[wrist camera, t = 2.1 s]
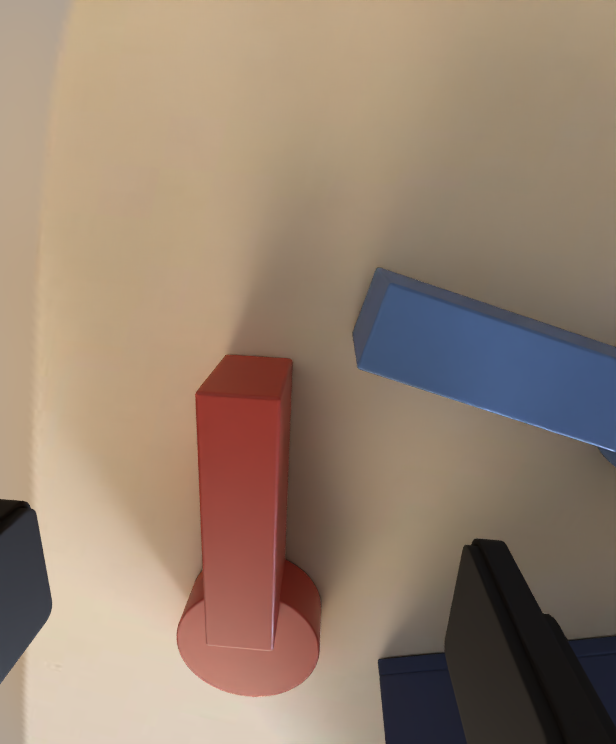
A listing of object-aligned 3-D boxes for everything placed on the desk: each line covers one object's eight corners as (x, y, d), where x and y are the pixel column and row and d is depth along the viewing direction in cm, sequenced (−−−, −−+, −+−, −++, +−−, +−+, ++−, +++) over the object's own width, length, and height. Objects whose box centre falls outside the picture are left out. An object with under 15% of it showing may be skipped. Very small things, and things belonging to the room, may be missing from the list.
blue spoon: (336, 377, 10) (335, 423, 8) (395, 214, 9) (416, 213, 7) (701, 495, 11) (799, 570, 8) (807, 356, 9) (955, 399, 7)
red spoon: (179, 350, 10) (134, 388, 8) (340, 360, 10) (341, 401, 8) (194, 644, 13) (166, 730, 11) (317, 655, 13) (313, 745, 11)
